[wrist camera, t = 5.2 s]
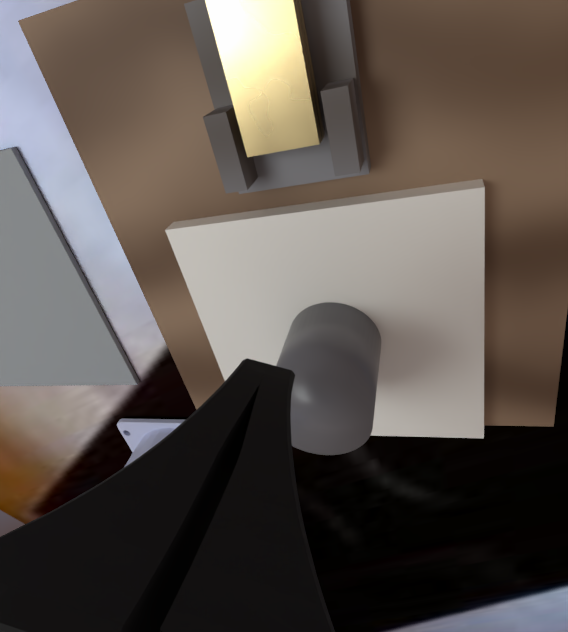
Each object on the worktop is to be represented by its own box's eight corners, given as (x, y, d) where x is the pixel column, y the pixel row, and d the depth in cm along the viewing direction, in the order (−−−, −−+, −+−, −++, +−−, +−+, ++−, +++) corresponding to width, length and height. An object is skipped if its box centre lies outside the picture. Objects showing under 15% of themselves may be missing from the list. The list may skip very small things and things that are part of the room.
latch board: (548, 407, 22) (565, 464, 19) (209, 405, 28) (187, 449, 25) (608, -174, 11) (665, -220, 9) (40, 18, 17) (-28, 25, 14)
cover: (481, 425, 22) (496, 529, 18) (249, 420, 26) (216, 506, 22) (482, 178, 16) (505, 250, 11) (173, 221, 19) (106, 287, 15)
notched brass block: (333, 134, 15) (306, 181, 11) (247, 150, 16) (197, 199, 12) (279, -195, 11) (211, -280, 7) (169, -146, 12) (61, -201, 8)
